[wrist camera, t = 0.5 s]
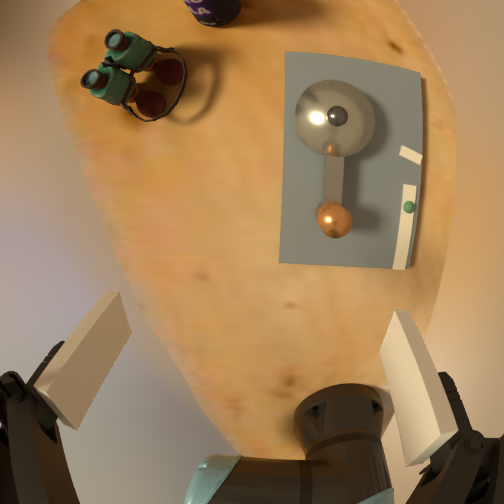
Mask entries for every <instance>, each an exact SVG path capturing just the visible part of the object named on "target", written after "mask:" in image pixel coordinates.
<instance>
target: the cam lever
mask: <svg viewBox="0 0 504 504" xmlns="http://www.w3.org/2000/svg"><path fill="white" fill-rule="evenodd" d="M294 121H295V127H296V130H297V133H298V135H299V137H300V138H301V140H302V141H303V142H304V144H305V145H306V146H307V147H308V148H310V149H311V150H312V151H314V152H316V153H318V154H320V155H323V156H324V166H323V186H322V202H320V203H319V204H318V205H317V207H316V209H315V218H316V221H317V222H318V224H319V226H320V227H321V229H322V231H323V232H324V234H325V235H327V236H328V237H330V238H334V239H338V238H342V237H344V236H345V235H347V234H348V233H349V231H350V230H351V227H352V217H351V214H350V213H349V211H348V210H346V209H345V208H344V207H342V206H341V204H342V190H343V173H344V156H349V155H352V154H355V153H357V152H359V151H360V150H362V149H363V148H364V147H365V146H366V145H367V144H368V143H369V141H370V139H371V138H372V135H373V133H374V128H375V116H374V111H373V108H372V106H371V104H370V102H369V100H368V99H367V97H366V96H365V95H364V94H363V93H362V92H361V91H360V90H359V89H358V88H356V87H355V86H353V85H351V84H349V83H347V82H344V81H340V80H323V81H319V82H316V83H314V84H312V85H311V86H309V87H308V88H307V89H306V90H305V91H304V92H303V93H302V94H301V96H300V98H299V100H298V102H297V105H296V110H295V115H294Z"/></svg>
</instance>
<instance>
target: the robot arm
mask: <svg viewBox="0 0 504 504" xmlns="http://www.w3.org/2000/svg"><path fill="white" fill-rule="evenodd" d="M131 333H132V332H131V329H130V326H129V323H128V320H127V317H126V313H125V310H124V307H123V303H122V300H121V296H120V293H119V292H116V291H108V290H107V291H106V292H105V293H104V295H103V296H102V297H101V298H100V299H99V300H98V302H97V303H96V304H95V305H94V306H93V308H92V309H91V310H90V311H89V312H88V314H87V315H86V316H85V317H84V319H83V320H82V321H81V322H80V324H79V325H78V326H77V327H76V329H75V330H74V331H73V333H72V334H71V335H70V336H69V338H68V339H67V340H66V341H61V342H59V343H58V344H57V345H55V346H54V347H53V348H52V349H51V351H50V352H49V353H48V356H46V357H45V359H44V360H43V362H42V363H41V364H40V365H39V367H38V368H37V369H36V371H35V372H34V374H33V375H32V376H31V378H30V379H29V381H28V382H27V383H26V384H25V383H24V381H23V380H22V378H21V377H20V376H19V374H18V373H17V372H14V371H8V372H6V373H4V374H3V375H2V376H1V377H0V422H1V424H2V425H1V428H0V504H80V502H79V500H78V497H77V494H76V491H75V488H74V485H73V482H72V479H71V476H70V473H69V469H68V465H67V462H66V458H65V454H64V450H63V446H62V442H61V437H60V432H59V428H58V425H57V422H56V420H57V418H59V419H60V420H61V421H62V423H63V424H65V425H66V426H69V427H71V428H73V429H75V430H77V429H78V427H79V426H80V424H81V422H82V420H83V418H84V416H85V414H86V412H87V410H88V409H89V407H90V405H91V403H92V401H93V399H94V398H95V396H96V394H97V392H98V390H99V388H100V387H101V385H102V383H103V381H104V379H105V378H106V376H107V374H108V373H109V371H110V369H111V367H112V366H113V364H114V362H115V360H116V358H117V357H118V355H119V354H120V352H121V350H122V349H123V347H124V345H125V344H126V342H127V340H128V339H129V337H130V335H131ZM379 354H380V357H381V361H382V364H383V368H384V371H385V375H386V379H387V382H388V386H389V390H390V394H391V398H392V402H393V406H394V410H395V414H396V419H397V423H398V427H399V432H400V437H401V442H402V447H403V453H404V458H405V464H406V467H408V466H413V465H417V464H421V463H423V462H424V461H426V460H427V459H428V458H429V457H430V461H431V463H430V464H429V465H428V466H427V467H425V468H424V469H423V470H422V471H421V472H420V473H419V474H420V475H421V474H423V473H424V472H425V473H424V474H423V476H422V478H421V480H420V482H419V483H418V485H417V486H416V488H415V490H414V491H413V493H412V494H411V496H410V498H409V499H408V501H407V502H406V504H504V434H503V435H502V436H501V437H500V438H484V436H483V435H482V434H481V433H480V432H478V431H476V430H473V429H472V427H471V425H470V422H469V419H468V416H467V413H466V411H465V408H464V406H463V403H462V400H460V395H459V393H458V392H457V388H456V386H455V383H454V381H453V379H452V378H451V377H450V376H449V375H448V374H447V373H446V372H439V373H437V371H436V368H435V366H434V363H433V361H432V359H431V357H430V354H429V352H428V350H427V348H426V345H425V344H424V341H423V339H422V337H421V334H420V332H419V330H418V328H417V326H416V324H415V322H414V320H413V318H412V316H411V314H410V312H409V310H394V313H393V316H392V319H391V322H390V325H389V327H388V330H387V333H386V335H385V338H384V340H383V343H382V346H381V348H380V351H379ZM383 414H384V410H383V405H382V402H381V399H380V397H379V395H378V394H377V393H376V392H375V391H374V390H373V389H371V388H369V387H366V386H363V385H357V384H343V385H336V386H332V387H328V388H325V389H322V390H320V391H317V392H315V393H313V394H312V395H310V396H308V397H307V398H306V399H304V400H303V401H302V402H301V403H300V404H299V406H298V407H297V409H296V410H295V413H294V431H295V434H296V436H297V438H298V440H299V443H300V445H301V447H302V449H303V451H304V453H305V460H284V459H266V458H253V457H243V456H242V455H238V456H231V455H220V454H213V455H210V456H208V457H206V458H205V459H204V460H203V461H202V462H201V463H200V465H199V467H198V468H197V470H196V472H195V474H194V476H193V478H192V480H191V483H190V485H189V488H188V491H187V494H186V497H185V501H184V504H394V495H393V493H394V489H393V488H392V484H391V480H390V475H389V471H388V467H387V463H386V459H385V455H384V451H383V447H382V443H381V431H382V423H383Z"/></svg>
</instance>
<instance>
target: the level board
mask: <svg viewBox="0 0 504 504" xmlns="http://www.w3.org/2000/svg"><path fill="white" fill-rule="evenodd" d="M323 80H340V81H344V82H347V83H349V84H351V85H353V86H355V87H356V88H358V89H359V90H360V91H361V92H362V93H363V94H364V95H365V96H366V97H367V99H368V100H369V102H370V104H371V106H372V108H373V111H374V116H375V128H374V133H373V135H372V138H371V139H370V141H369V143H368V144H367V145H366V146H365V147H364V148H363V149H362V150H360V151H359V152H357V153H355V154H352V155H349V156H344V173H343V190H342V204H341V206H342V207H344V208H345V209H346V210H348V211H349V213H350V214H351V217H352V227H351V230H350V231H349V233H348V234H347V235H345V236H344V237H342V238H338V239H334V238H330V237H328V236H327V235H325V234H324V232H323V231H322V229H321V227H320V226H319V224H318V222H317V221H316V218H315V209H316V207H317V205H318V204H319V203H320V202H322V186H323V166H324V156H323V155H320V154H318V153H316V152H314V151H312V150H311V149H310V148H308V147H307V146H306V145H305V144H304V142H303V141H302V140H301V138H300V137H299V135H298V133H297V130H296V127H295V121H294V115H295V110H296V105H297V102H298V100H299V98H300V96H301V94H302V93H303V92H304V91H305V90H306V89H307V88H308V87H309V86H311V85H312V84H314V83H316V82H319V81H323ZM422 151H423V110H422V89H421V76H420V73H419V72H416V71H412V70H408V69H404V68H400V67H396V66H392V65H387V64H383V63H378V62H373V61H368V60H362V59H356V58H350V57H343V56H335V55H327V54H317V53H305V52H287V51H285V122H284V159H283V187H282V211H281V232H280V251H279V263H290V264H309V265H328V266H348V267H369V268H391V269H394V270H405V269H409V265H410V260H411V255H412V249H413V243H414V237H415V230H416V223H417V215H418V207H419V197H420V186H421V172H422V157H423V155H422Z"/></svg>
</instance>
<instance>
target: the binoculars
mask: <svg viewBox="0 0 504 504" xmlns="http://www.w3.org/2000/svg"><path fill="white" fill-rule="evenodd" d="M104 42H105V46H106V47H107V48H108V51H107V52H106V54H105V56H104V59H105V60H104V62H101V63H100V64H99V66H98V68H97V70H96V69H92V70H89V71H87V72H86V73H85V74H84V75H83V76H82V78H81V86H82V87H84V88H87V89H90V93H91V95H93V96H94V97H97V98H99V99H102V100H105V101H106V102H108V103H110V104H112V105H118V106H122V107H123V108H124V109H125V110H127V111H128V112H129V114H130V115H132V116H134V117H135V118H137V119H139V120H141V121H144V122H149V121H156V120H158V119H160V118H162V117H164V116H166V115H168V114H169V113H170V112H171V110H172V109H173V108H174V107H175V106H176V105H177V103H178V101H179V99H180V97H181V95H182V93H183V90H184V88H185V85H186V79H187V70H186V64H185V61H184V60H183V59H182V57H181V56H180V54H179V53H178V52H176V51H174V48H171V47H170V48H163V47H160V46H154V45H153V44H152V43H151V41H147V40H145V39H143V38H142V37H140V36H138V35H137V34H135V33H132V32H124V33H122V32H121V31H120V30H118V29H113V30H111V31H110V32H108V34H107V35H106V37H105V41H104ZM158 48H159V50H158ZM157 51H158V52H162V53H168V52H173V53H175V54H178V55H179V57H180V58H181V60H182V63H183V64H182V63H181V62H179V61H177V60H175V59H166V60H163V61H161V62H159V63H158V57H157V55H156V54H157ZM120 68H121V69H124V70H126V69H129V70H131V72H130V74H128V73H126V72H124V71H123V70H121V69H120ZM154 68H155V74H156V77H157V78H158V80H159V81H160V82H162V83H164V84H169V85H173V84H177V83H178V82H180V81H181V80H182V79H183V81H182V85H181V88H180V91H179V93H178V95H177V97H176V99H175V101H174V103H173V104H172V105H171V106H170V107H169V108H168V110H167V111H166V112H165V113H163V114H161V113H162V112H163V111H164V109H165V106H166V102H165V99H164V97H163V96H162V95H161V94H160V93H159V92H157V91H146V92H143V93H141V94H140V89H139V87H138V85H137V84H136V80H135V78H134V76H133V75H134V73H139V72H141V71H151V70H153V69H154ZM135 100H136V105H137V108H138V110H139V112H140V113H141V114H143V115H144V116H146V117H149V118H153V119H150V120H144V119H142V118H139V117H138V116H137V115H136V114H135V113H134V112H133V110H132V108H131V107H130V106H128V105H127V103H130V102H133V101H135ZM160 114H161V115H160ZM154 117H155V118H154Z"/></svg>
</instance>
